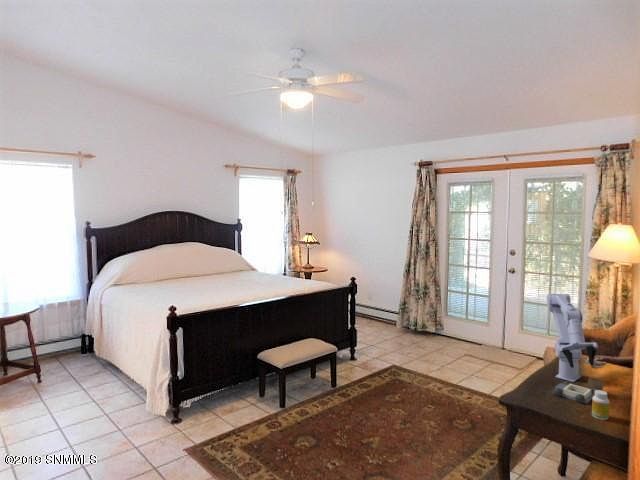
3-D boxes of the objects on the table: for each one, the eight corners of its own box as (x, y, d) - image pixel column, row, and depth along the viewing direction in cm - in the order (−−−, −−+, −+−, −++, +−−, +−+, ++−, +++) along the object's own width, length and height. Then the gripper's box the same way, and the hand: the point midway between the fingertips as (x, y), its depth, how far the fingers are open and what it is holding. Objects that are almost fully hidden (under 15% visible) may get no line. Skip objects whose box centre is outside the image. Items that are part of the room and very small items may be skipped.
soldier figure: (610, 368, 212) (598, 365, 206) (601, 372, 215) (589, 369, 209) (600, 354, 218) (588, 350, 212) (592, 358, 220) (580, 355, 214)
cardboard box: (590, 390, 185) (591, 376, 184) (602, 393, 181) (603, 379, 181) (587, 393, 182) (588, 379, 181) (599, 396, 178) (599, 382, 178)
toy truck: (561, 386, 188) (561, 379, 188) (595, 396, 178) (595, 388, 178) (551, 394, 180) (551, 387, 180) (585, 404, 171) (585, 397, 170)
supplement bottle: (602, 421, 157) (603, 396, 156) (588, 415, 162) (589, 390, 161) (611, 418, 159) (612, 393, 159) (597, 412, 164) (598, 388, 164)
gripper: (555, 335, 189) (559, 364, 181) (590, 329, 179) (597, 360, 172) (561, 340, 192) (566, 370, 185) (597, 335, 183) (603, 366, 175)
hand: (581, 366), depth 178 cm, fingers open, 7 cm apart
